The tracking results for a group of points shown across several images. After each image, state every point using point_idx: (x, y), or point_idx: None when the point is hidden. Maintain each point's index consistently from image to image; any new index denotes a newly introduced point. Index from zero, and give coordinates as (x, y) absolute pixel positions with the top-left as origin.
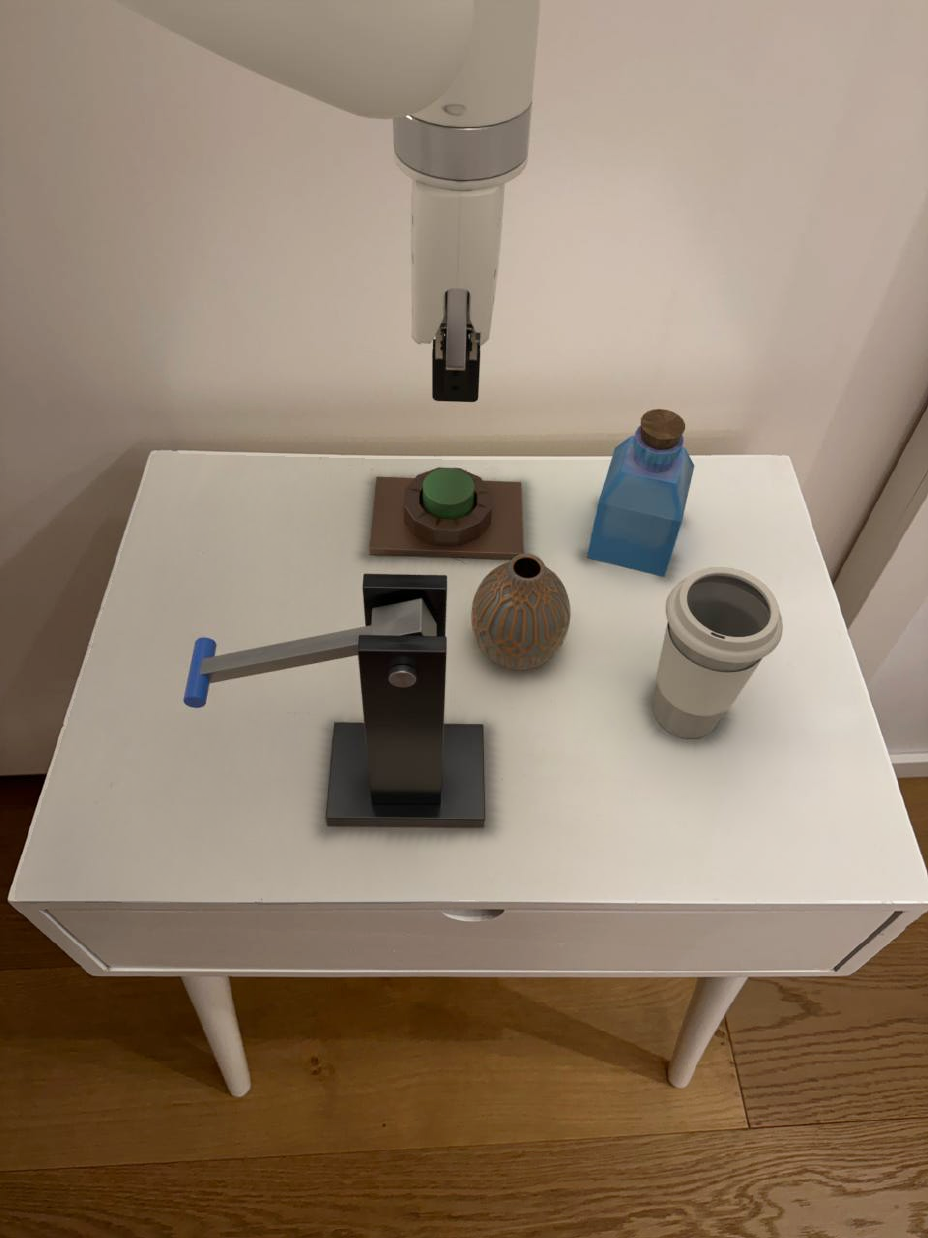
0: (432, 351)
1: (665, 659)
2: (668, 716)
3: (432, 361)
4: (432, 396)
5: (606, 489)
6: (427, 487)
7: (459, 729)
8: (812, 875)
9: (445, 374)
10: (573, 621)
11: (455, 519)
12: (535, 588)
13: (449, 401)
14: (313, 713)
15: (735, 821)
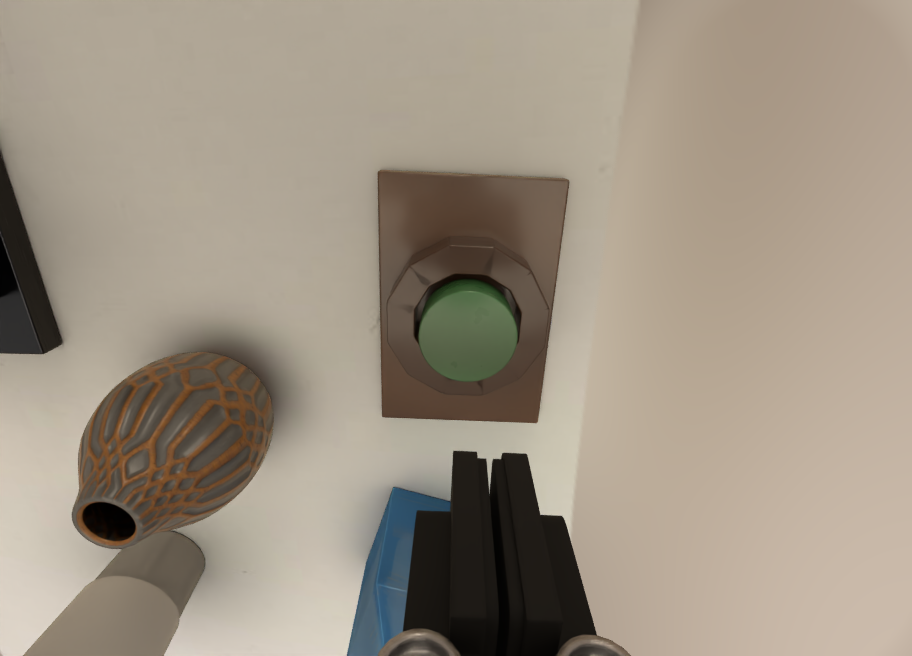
0: (465, 618)
1: (55, 636)
2: (113, 559)
3: (451, 577)
4: (454, 454)
5: (385, 609)
6: (463, 299)
7: (21, 322)
8: (4, 623)
9: (409, 588)
10: (278, 462)
11: (413, 336)
12: (87, 521)
13: (451, 487)
14: (13, 80)
15: (39, 578)
